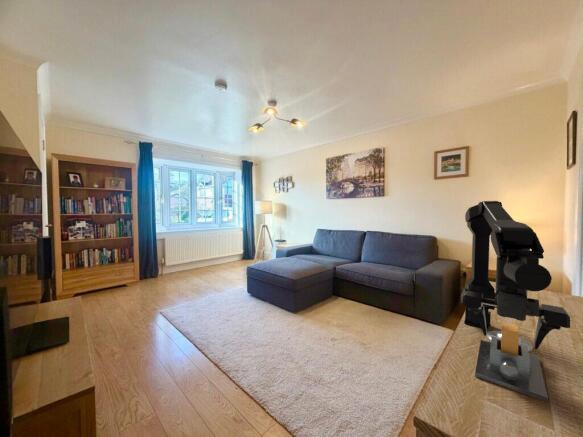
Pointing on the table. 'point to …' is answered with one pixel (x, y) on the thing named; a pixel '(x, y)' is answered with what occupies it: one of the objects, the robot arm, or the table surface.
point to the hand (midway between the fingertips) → (509, 341)
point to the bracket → (511, 366)
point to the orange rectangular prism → (509, 338)
